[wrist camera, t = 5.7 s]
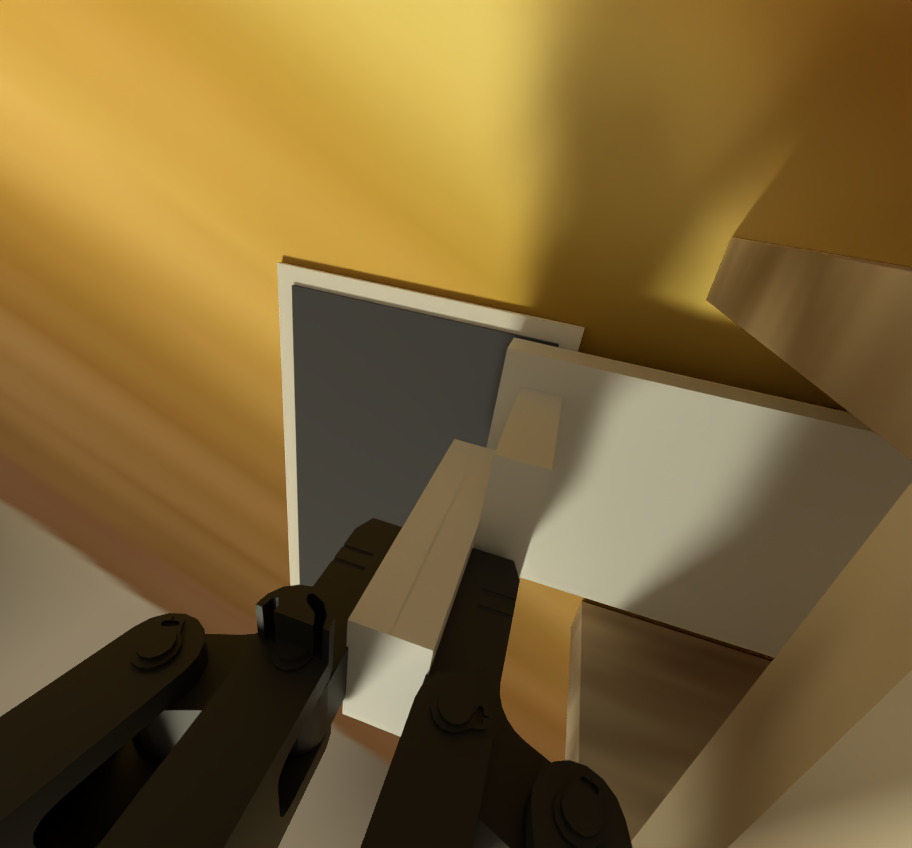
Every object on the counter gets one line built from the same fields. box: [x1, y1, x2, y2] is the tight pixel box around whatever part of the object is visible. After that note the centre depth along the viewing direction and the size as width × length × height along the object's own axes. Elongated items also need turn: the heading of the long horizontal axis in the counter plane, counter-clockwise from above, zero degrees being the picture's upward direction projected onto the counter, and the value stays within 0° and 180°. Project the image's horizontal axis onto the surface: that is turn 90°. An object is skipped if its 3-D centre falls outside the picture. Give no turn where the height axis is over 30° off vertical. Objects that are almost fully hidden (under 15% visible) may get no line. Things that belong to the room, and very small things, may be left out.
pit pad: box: [277, 262, 585, 587], centre depth 18 cm, size 17×10×1 cm, turn 171°
